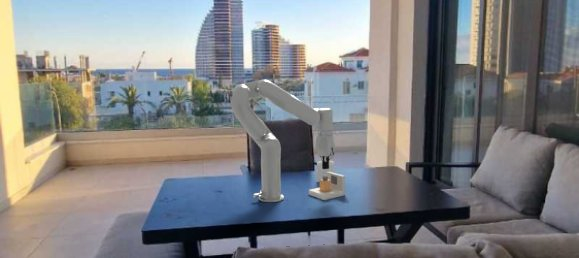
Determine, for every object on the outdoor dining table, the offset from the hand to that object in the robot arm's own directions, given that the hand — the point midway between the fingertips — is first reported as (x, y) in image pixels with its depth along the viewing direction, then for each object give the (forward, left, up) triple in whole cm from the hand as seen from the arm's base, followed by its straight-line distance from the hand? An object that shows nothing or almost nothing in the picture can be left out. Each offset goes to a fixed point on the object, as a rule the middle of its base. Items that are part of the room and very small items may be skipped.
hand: (325, 168), depth 224 cm
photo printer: (+17, +20, -14) cm, 30 cm away
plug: (0, 0, -14) cm, 14 cm away
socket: (0, 0, -14) cm, 14 cm away
